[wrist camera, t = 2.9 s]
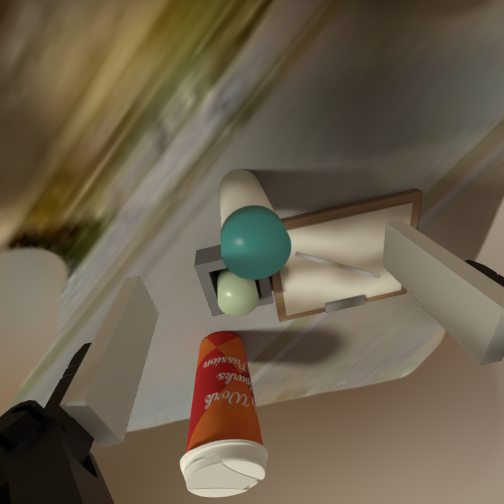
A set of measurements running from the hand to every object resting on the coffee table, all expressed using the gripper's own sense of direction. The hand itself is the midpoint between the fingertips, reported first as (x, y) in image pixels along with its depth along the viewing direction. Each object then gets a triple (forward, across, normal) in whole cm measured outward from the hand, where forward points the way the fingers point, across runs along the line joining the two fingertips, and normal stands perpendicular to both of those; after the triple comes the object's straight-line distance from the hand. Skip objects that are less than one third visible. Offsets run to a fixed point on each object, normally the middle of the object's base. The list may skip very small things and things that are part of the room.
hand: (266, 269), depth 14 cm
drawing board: (+14, +10, -11) cm, 20 cm away
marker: (+14, 0, 0) cm, 14 cm away
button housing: (+14, -3, -9) cm, 17 cm away
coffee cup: (+14, -7, -21) cm, 26 cm away
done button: (+12, -3, -9) cm, 15 cm away
